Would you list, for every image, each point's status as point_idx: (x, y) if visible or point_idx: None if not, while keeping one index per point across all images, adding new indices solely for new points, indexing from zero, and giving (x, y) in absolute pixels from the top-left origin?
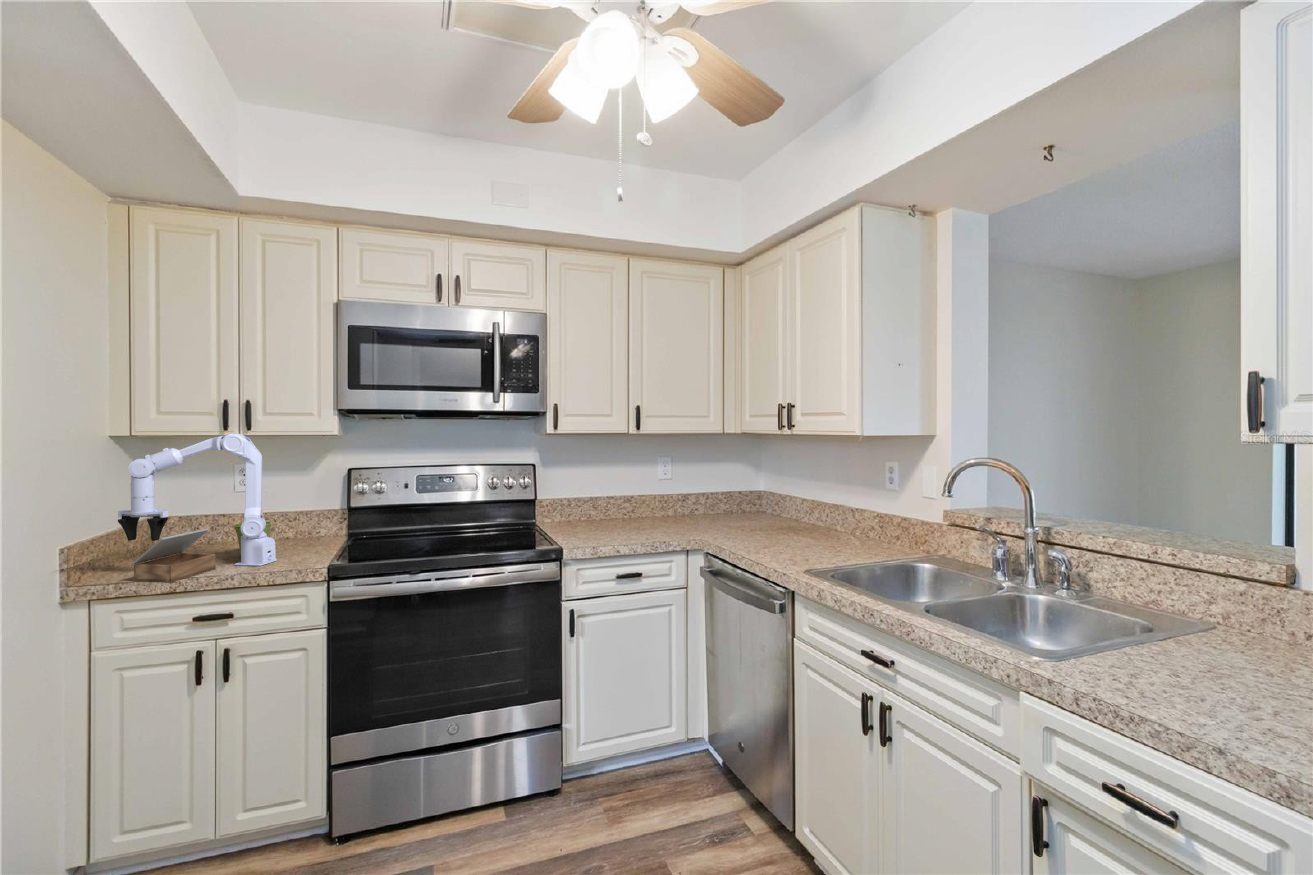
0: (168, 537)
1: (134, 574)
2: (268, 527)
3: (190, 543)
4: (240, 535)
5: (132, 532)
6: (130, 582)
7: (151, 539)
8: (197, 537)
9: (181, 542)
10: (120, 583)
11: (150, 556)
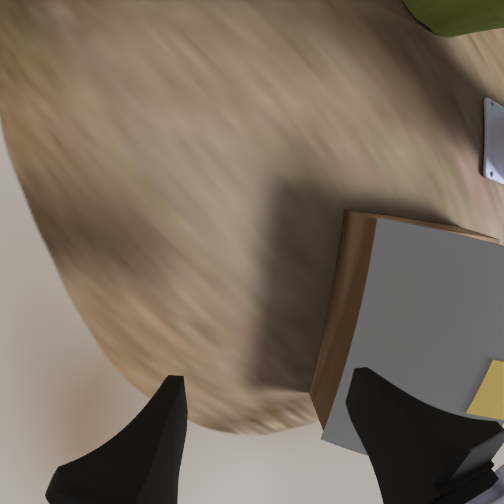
0: None
1: (316, 407)
2: None
3: (465, 256)
4: (484, 10)
5: (175, 434)
6: (305, 400)
7: (348, 410)
8: None
9: (472, 350)
10: (283, 411)
11: None
